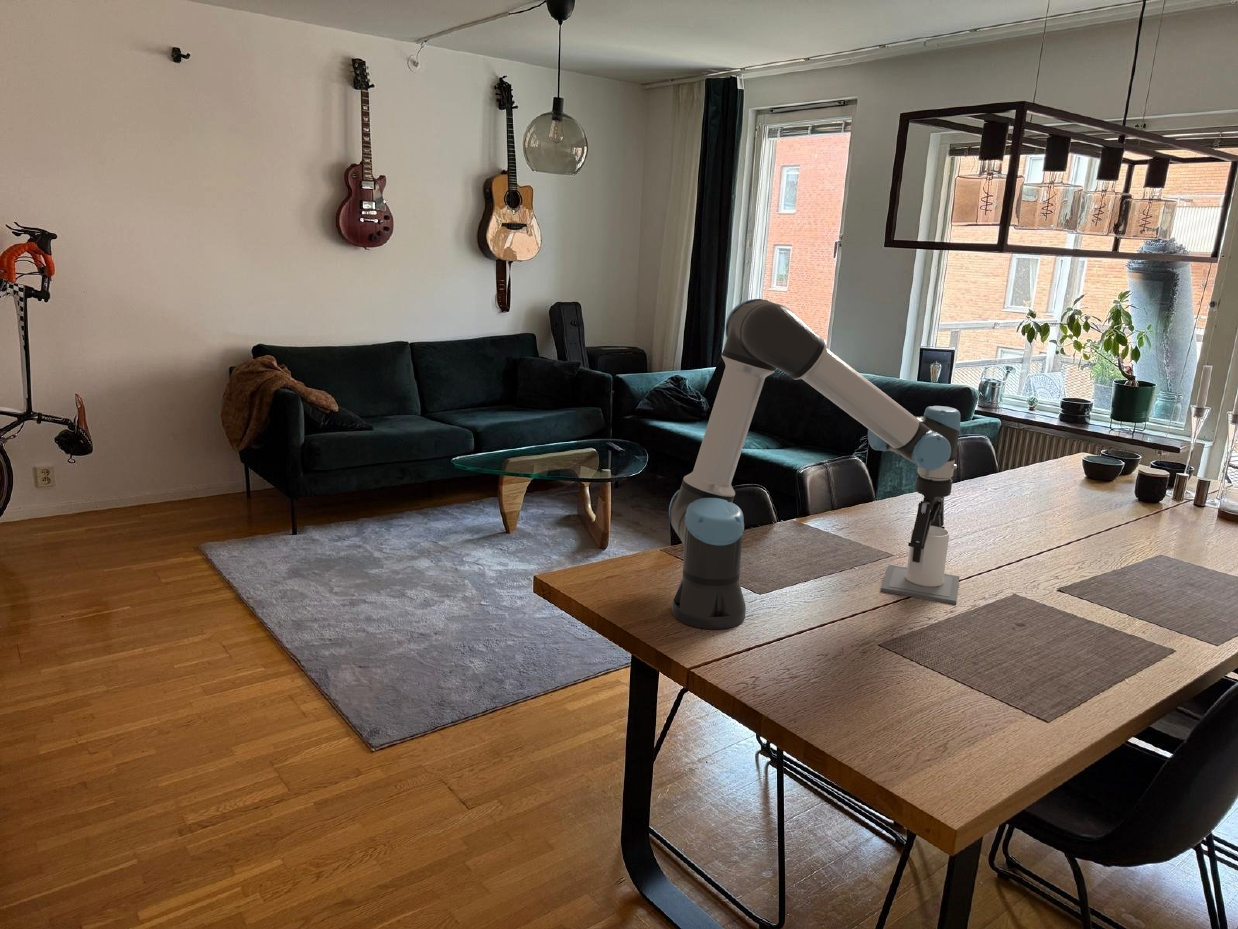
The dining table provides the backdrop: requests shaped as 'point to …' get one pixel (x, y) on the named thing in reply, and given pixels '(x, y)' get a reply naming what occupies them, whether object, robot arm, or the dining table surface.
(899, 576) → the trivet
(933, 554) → the mug
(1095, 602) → the dining table surface
